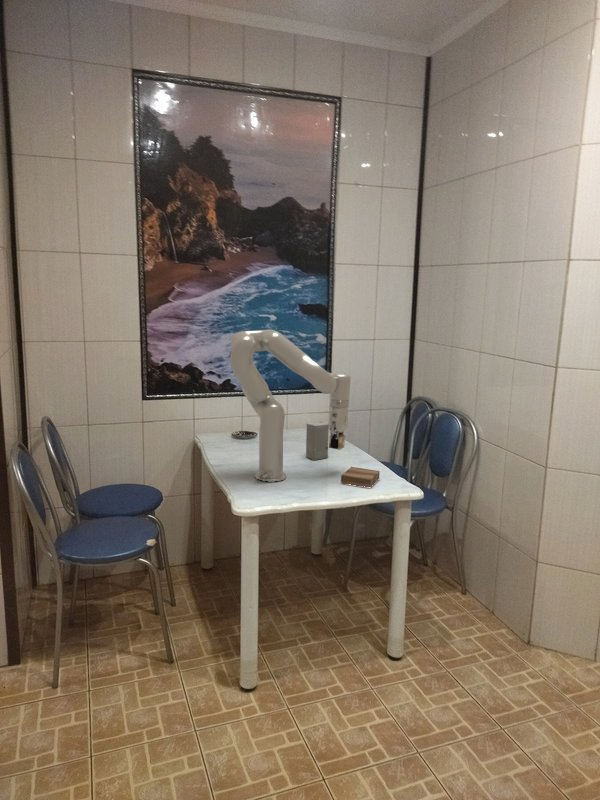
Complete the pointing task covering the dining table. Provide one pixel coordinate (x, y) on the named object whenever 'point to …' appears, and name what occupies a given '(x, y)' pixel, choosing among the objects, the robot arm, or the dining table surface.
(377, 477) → the walnut block
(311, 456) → the skincare box
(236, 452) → the dining table surface
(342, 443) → the maple cube
